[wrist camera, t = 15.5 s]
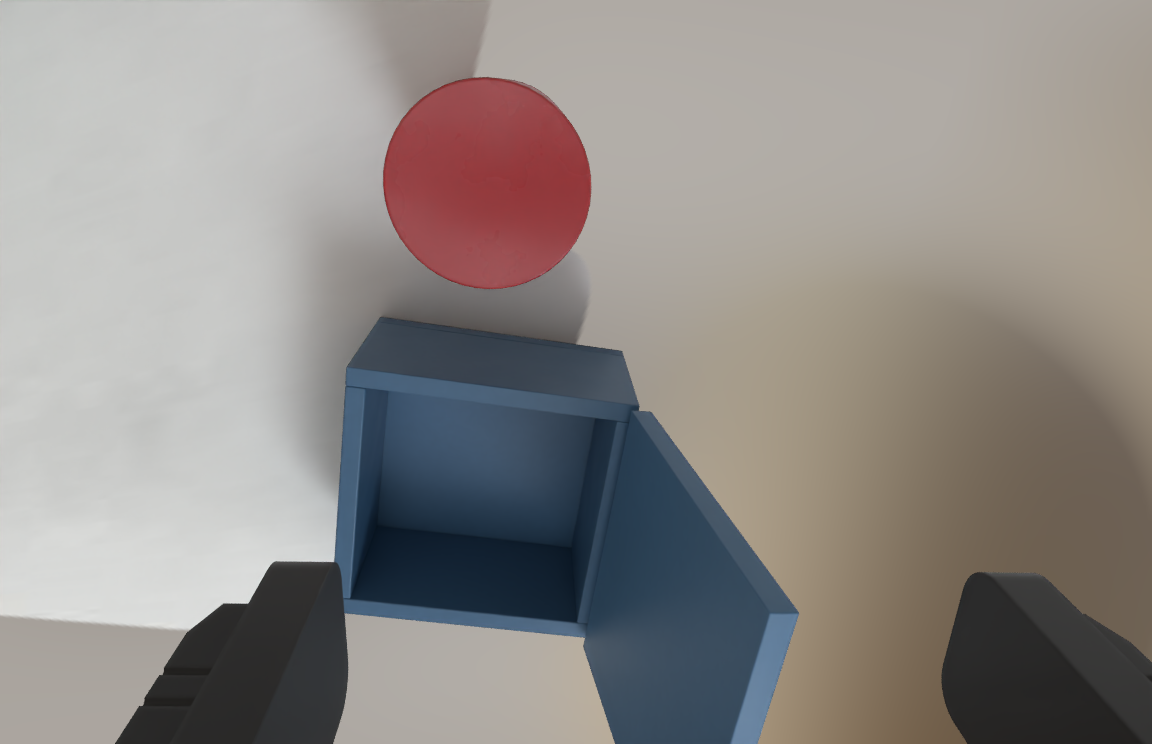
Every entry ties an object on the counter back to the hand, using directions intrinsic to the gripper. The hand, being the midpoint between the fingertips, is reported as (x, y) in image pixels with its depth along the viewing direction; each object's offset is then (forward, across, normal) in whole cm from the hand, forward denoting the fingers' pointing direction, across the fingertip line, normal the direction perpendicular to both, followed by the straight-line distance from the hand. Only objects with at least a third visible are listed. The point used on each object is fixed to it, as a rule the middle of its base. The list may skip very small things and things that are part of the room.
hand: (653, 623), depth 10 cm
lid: (+14, -3, +11) cm, 18 cm away
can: (+27, +3, -3) cm, 27 cm away
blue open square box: (+27, +4, +11) cm, 29 cm away
